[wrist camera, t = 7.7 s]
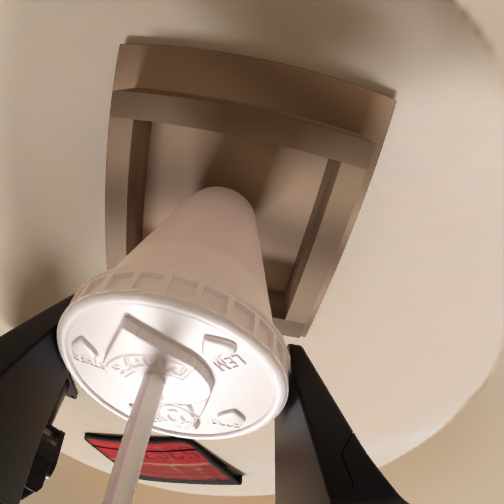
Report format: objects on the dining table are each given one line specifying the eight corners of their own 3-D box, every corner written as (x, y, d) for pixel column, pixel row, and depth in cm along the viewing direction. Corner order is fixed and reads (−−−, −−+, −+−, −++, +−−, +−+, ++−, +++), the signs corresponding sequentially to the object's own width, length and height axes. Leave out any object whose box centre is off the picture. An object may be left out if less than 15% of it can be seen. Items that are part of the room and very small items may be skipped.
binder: (241, 486, 38) (138, 480, 43) (243, 473, 40) (141, 470, 45) (186, 443, 31) (77, 437, 37) (190, 428, 33) (82, 426, 39)
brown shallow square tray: (304, 331, 22) (307, 364, 19) (111, 288, 21) (94, 316, 18) (392, 99, 13) (417, 105, 11) (124, 44, 13) (95, 41, 10)
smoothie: (273, 148, 14) (264, 568, 2) (290, 268, 17) (298, 567, 5) (141, 172, 14) (-74, 427, 2) (176, 280, 18) (88, 532, 6)
